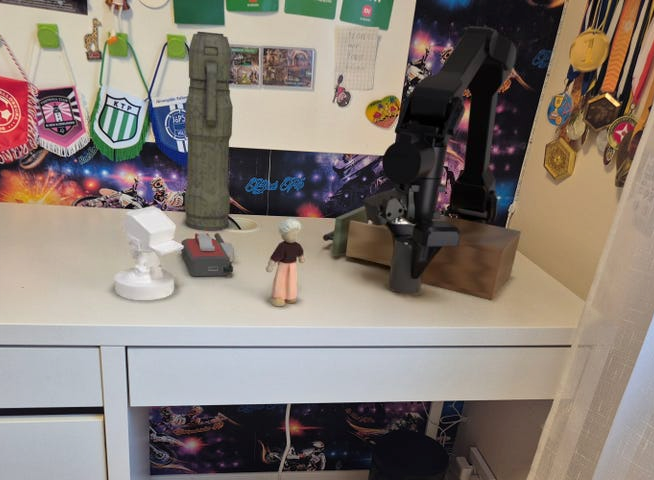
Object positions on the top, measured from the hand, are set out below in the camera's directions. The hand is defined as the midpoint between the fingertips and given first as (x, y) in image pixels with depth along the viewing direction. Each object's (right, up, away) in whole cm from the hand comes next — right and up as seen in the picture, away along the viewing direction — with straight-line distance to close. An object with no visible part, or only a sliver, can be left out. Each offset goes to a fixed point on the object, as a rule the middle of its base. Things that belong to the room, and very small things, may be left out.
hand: (406, 272), depth 104 cm
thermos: (-37, +13, +26) cm, 47 cm away
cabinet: (+10, +1, +10) cm, 14 cm away
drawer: (-3, +6, +15) cm, 17 cm away
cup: (0, -2, +1) cm, 3 cm away
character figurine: (-40, -4, -8) cm, 41 cm away
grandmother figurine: (-20, -5, -7) cm, 22 cm away
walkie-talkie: (-34, +3, +7) cm, 34 cm away
